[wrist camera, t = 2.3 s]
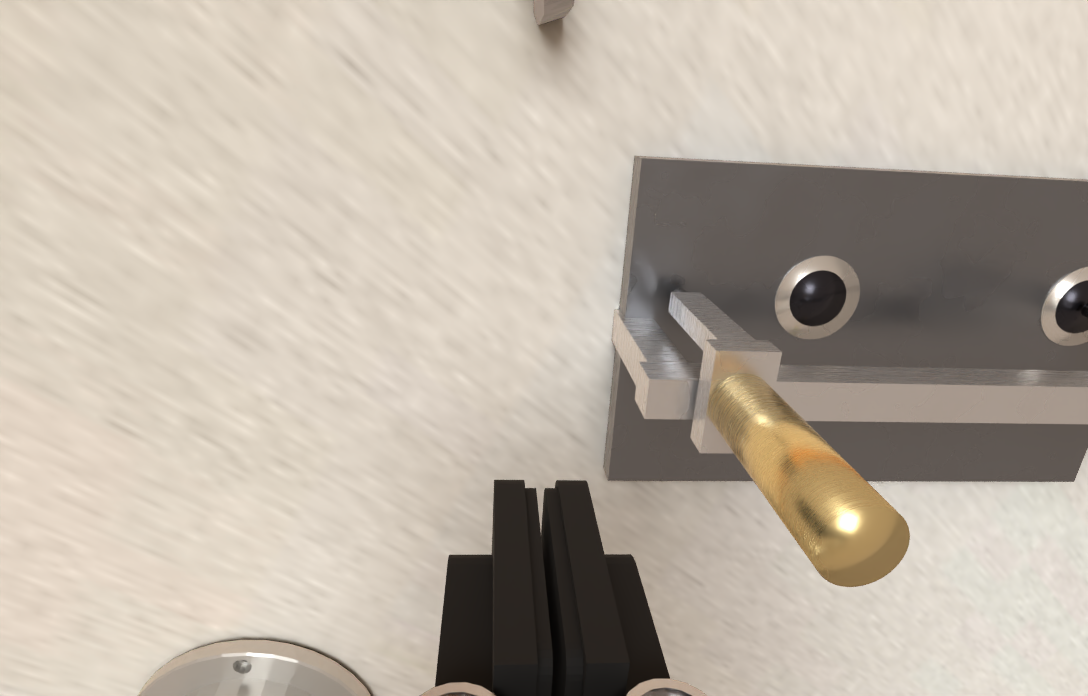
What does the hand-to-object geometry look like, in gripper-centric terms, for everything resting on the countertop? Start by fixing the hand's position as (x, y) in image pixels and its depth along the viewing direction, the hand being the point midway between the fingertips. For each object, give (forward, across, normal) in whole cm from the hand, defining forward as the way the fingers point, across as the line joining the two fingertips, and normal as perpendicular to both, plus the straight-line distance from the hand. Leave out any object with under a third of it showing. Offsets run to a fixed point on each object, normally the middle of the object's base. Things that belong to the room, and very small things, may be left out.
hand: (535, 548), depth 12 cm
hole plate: (+16, -16, +1) cm, 23 cm away
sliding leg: (+15, -7, +1) cm, 16 cm away
